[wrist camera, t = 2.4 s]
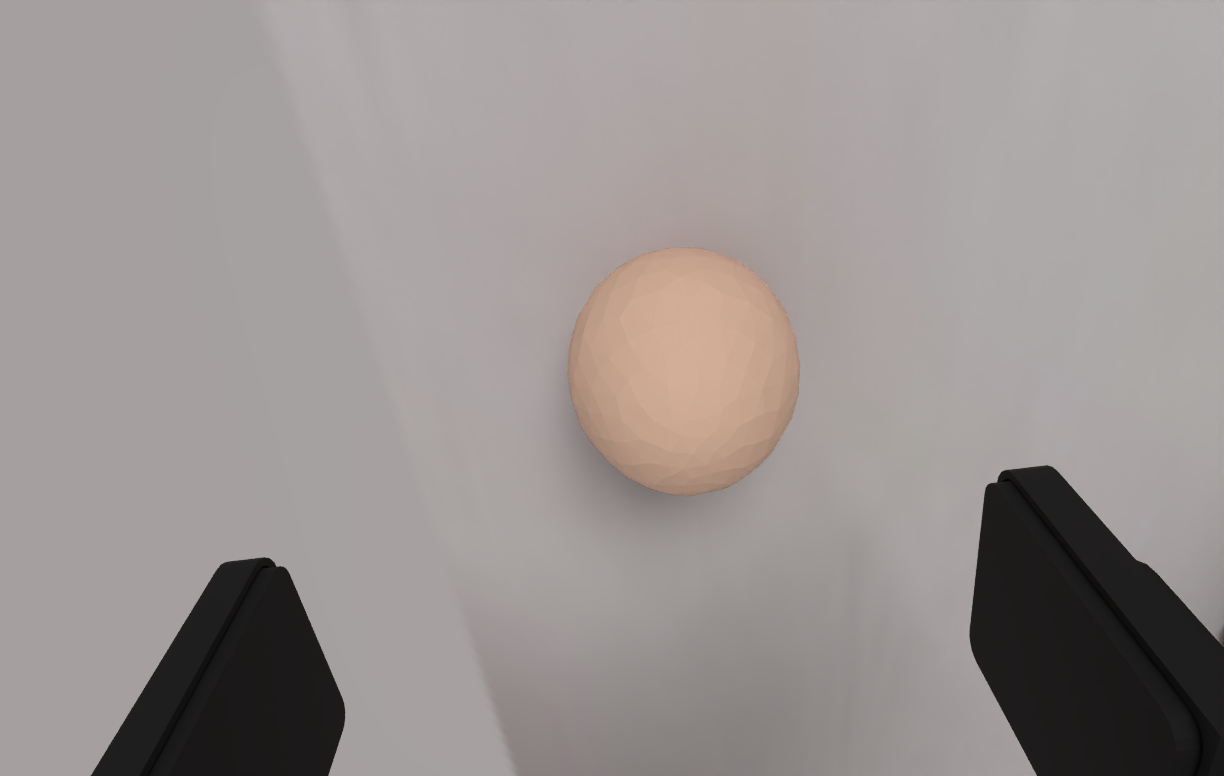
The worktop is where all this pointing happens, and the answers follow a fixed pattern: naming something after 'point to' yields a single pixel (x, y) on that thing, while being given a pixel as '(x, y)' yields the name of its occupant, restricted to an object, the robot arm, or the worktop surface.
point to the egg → (684, 370)
